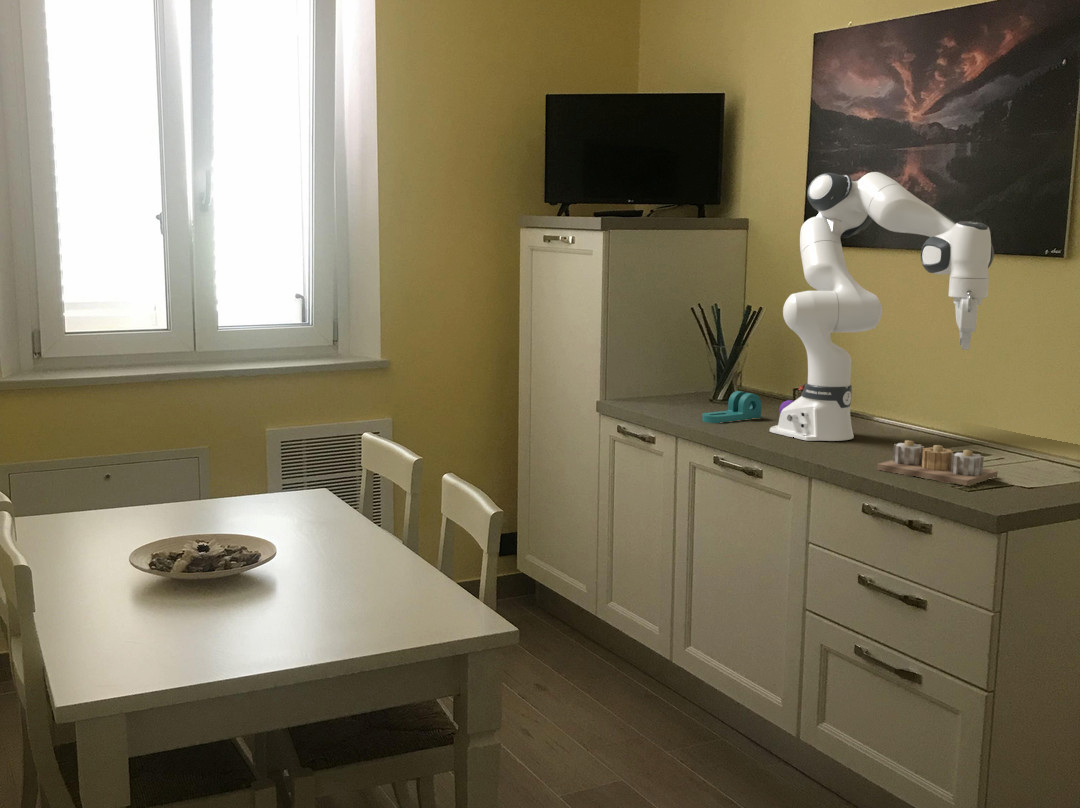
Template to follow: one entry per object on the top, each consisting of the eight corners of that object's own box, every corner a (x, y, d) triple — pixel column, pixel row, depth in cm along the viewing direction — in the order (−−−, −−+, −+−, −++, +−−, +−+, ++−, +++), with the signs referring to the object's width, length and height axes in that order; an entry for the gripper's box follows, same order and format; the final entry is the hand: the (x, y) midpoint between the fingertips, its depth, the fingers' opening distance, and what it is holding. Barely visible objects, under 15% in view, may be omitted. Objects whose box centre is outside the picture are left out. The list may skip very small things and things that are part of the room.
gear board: (876, 470, 259) (878, 442, 258) (908, 461, 268) (910, 435, 267) (967, 487, 243) (969, 457, 242) (997, 477, 252) (999, 449, 251)
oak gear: (916, 464, 258) (917, 447, 257) (943, 463, 259) (944, 447, 258) (929, 470, 252) (930, 453, 251) (957, 470, 252) (958, 452, 252)
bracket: (745, 416, 331) (746, 390, 329) (760, 419, 325) (761, 393, 324) (697, 421, 322) (698, 394, 320) (712, 425, 316) (713, 397, 315)
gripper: (985, 292, 256) (980, 352, 259) (979, 288, 276) (975, 343, 278) (956, 292, 258) (952, 351, 261) (952, 287, 278) (949, 342, 280)
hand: (964, 347), depth 269 cm, fingers open, 8 cm apart
